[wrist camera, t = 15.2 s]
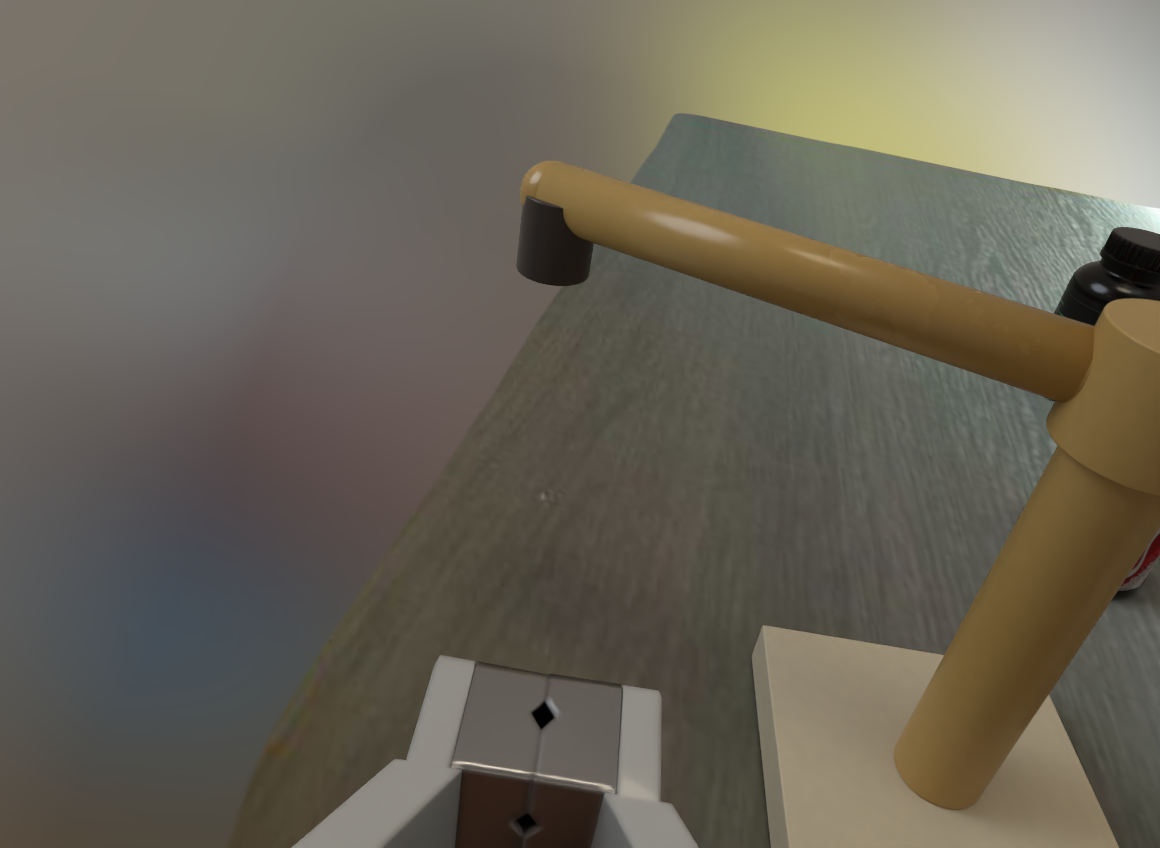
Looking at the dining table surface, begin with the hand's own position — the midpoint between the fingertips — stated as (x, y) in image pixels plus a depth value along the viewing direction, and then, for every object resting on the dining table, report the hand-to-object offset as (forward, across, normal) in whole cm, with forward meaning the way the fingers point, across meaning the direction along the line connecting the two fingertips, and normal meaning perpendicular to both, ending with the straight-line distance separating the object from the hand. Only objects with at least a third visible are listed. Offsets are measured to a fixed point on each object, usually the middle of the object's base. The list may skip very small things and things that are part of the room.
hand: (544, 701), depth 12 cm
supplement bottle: (+51, -36, +19) cm, 65 cm away
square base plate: (+13, -15, +19) cm, 27 cm away
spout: (+17, -7, +3) cm, 18 cm away
